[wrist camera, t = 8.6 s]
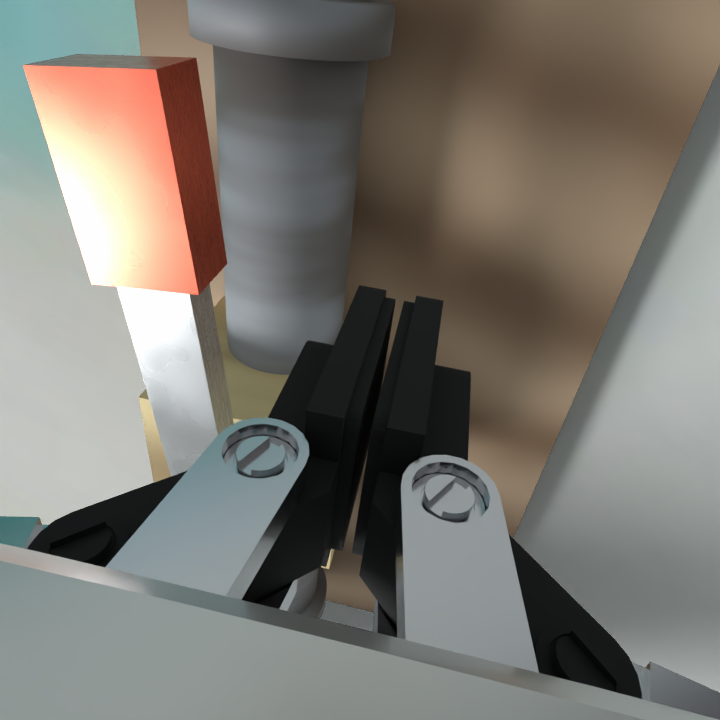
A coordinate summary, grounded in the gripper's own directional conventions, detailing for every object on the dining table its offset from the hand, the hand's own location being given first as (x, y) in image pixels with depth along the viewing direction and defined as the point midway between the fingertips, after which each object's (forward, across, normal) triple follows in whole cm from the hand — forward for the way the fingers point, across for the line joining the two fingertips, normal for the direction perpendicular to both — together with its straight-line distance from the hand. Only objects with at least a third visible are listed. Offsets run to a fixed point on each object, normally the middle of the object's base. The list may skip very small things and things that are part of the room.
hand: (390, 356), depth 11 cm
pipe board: (+12, +2, +9) cm, 15 cm away
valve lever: (+2, +5, +3) cm, 7 cm away
